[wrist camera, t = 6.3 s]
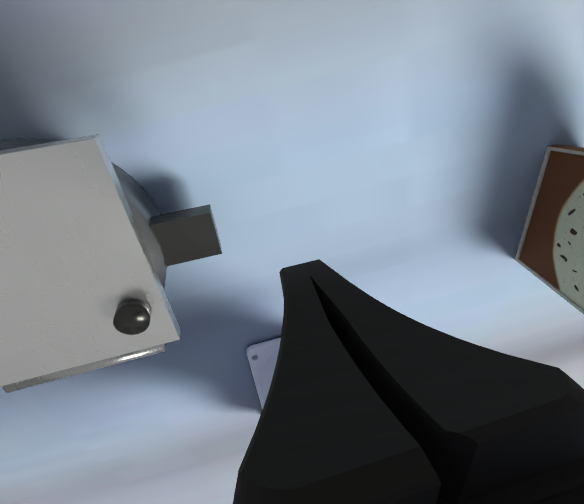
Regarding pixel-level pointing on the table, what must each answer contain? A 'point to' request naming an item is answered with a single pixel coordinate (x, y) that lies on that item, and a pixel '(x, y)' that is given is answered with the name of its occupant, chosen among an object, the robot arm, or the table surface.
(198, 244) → the pot
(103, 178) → the lid
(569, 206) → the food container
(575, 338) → the table surface
